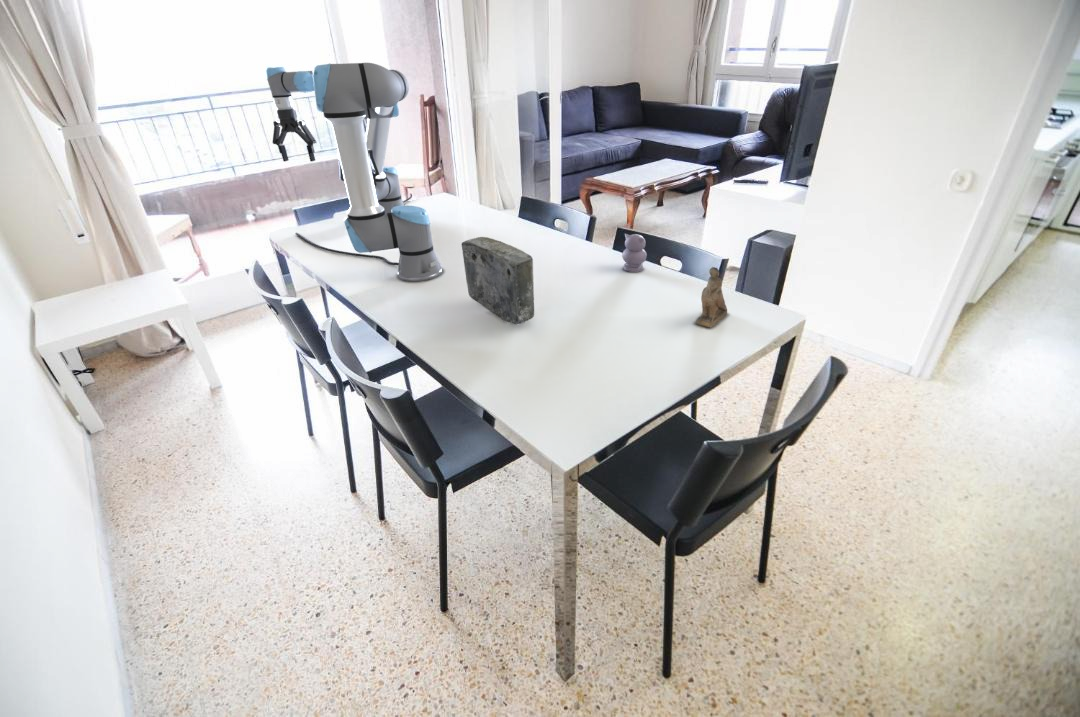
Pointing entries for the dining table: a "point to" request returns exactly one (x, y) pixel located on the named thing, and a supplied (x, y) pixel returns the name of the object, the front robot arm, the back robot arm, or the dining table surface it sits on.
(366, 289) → the dining table surface
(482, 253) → the concrete block
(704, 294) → the brown carved statuette
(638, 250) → the cat figurine
